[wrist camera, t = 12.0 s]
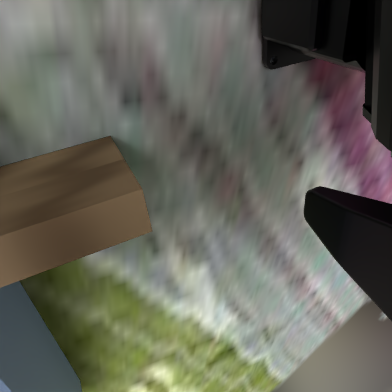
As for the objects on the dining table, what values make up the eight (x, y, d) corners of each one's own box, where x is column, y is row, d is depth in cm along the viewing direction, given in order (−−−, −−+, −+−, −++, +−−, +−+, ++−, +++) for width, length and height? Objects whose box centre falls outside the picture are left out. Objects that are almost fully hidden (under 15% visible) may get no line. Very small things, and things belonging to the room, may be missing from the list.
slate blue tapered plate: (-155, 120, 14) (-278, 236, 8) (-88, 105, 15) (-155, 203, 9) (50, 394, 28) (62, 512, 22) (80, 380, 29) (99, 491, 23)
